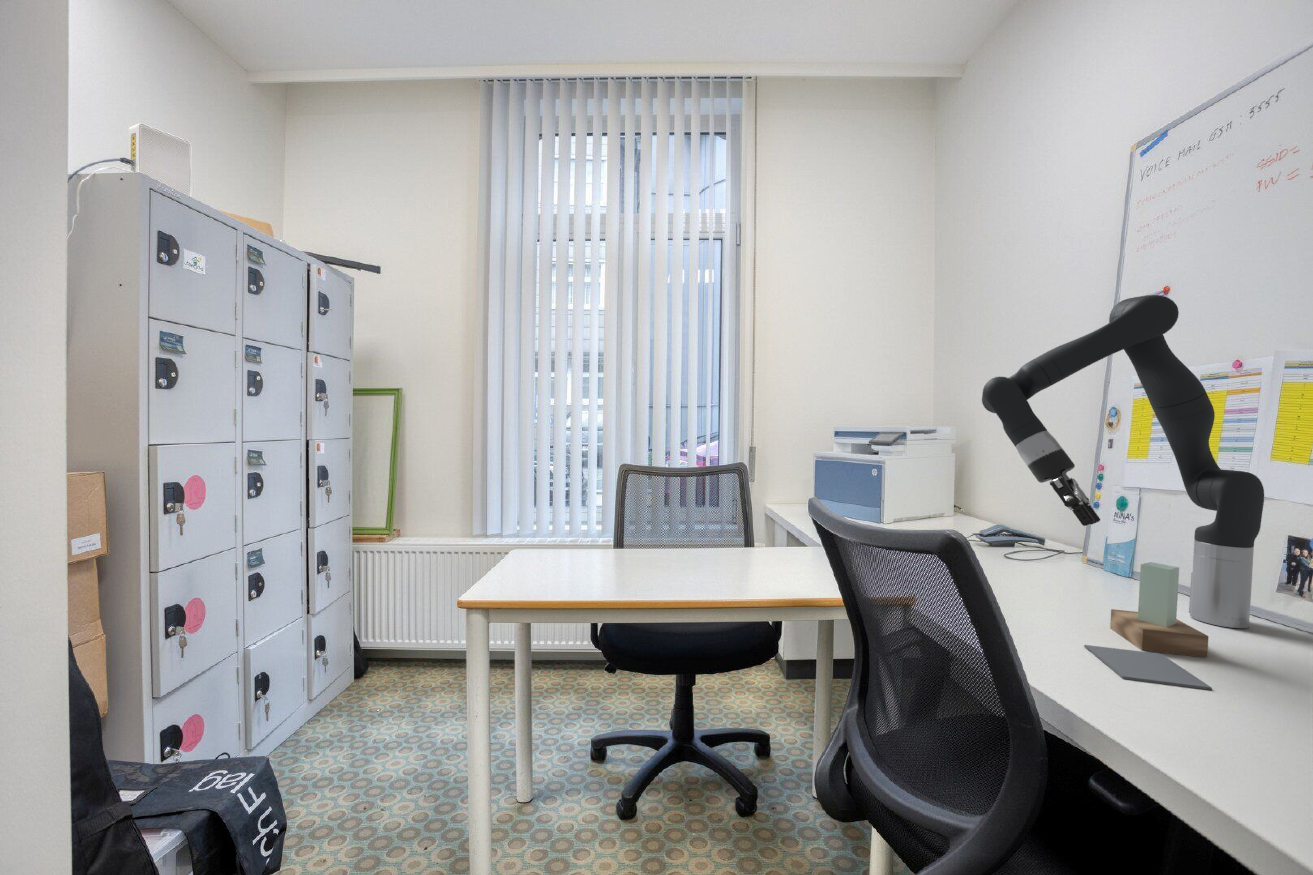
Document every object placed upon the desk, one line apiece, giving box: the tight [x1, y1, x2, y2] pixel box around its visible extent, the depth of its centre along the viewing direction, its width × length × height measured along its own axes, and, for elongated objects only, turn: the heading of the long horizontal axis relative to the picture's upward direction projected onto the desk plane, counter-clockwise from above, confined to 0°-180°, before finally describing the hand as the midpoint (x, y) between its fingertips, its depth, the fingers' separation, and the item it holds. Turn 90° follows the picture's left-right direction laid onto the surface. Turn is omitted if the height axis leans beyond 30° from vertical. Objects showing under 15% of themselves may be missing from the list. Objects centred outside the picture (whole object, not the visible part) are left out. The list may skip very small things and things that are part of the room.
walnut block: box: [1109, 608, 1209, 659], centre depth 111 cm, size 12×10×4 cm
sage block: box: [1137, 562, 1180, 627], centre depth 111 cm, size 4×4×11 cm
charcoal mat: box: [1083, 644, 1213, 691], centre depth 99 cm, size 14×12×1 cm
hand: (1092, 523), depth 118 cm, fingers open, 8 cm apart
